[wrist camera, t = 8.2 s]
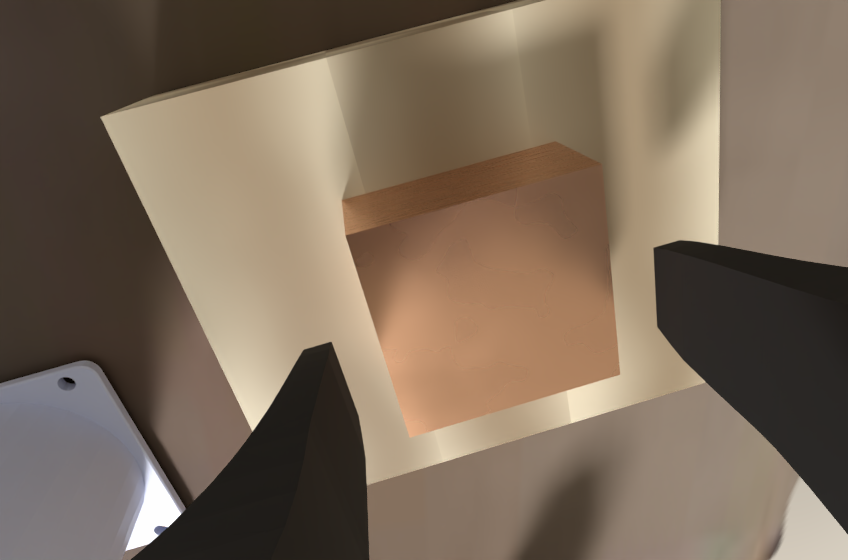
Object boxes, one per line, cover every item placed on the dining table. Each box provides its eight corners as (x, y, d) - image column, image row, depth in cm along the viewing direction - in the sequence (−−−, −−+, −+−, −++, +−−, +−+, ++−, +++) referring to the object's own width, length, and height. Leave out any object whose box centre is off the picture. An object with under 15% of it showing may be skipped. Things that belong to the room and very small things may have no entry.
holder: (295, 424, 20) (289, 508, 17) (152, 95, 15) (100, 116, 12) (650, 319, 21) (716, 379, 18) (631, -30, 16) (721, -46, 12)
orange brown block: (384, 319, 19) (409, 437, 13) (337, 166, 16) (345, 235, 11) (535, 276, 19) (620, 374, 14) (511, 119, 17) (601, 164, 11)
